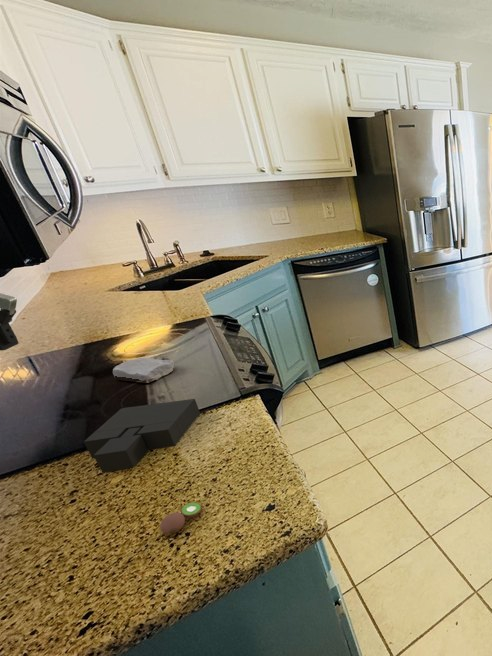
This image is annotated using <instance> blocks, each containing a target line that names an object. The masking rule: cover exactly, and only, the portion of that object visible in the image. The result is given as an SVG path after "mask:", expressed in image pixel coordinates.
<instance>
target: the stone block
mask: <svg viewBox="0 0 492 656" xmlns="http://www.w3.org/2000/svg"><path fill="white" fill-rule="evenodd" d="M173 366H174V367H175V363H174V361H173V360H172V359H164V360H163V359H157V358H153V357H139V358H135V359H129V360H127V361H124V362H122V363H120V364H118V365H116V366H114V367H113V369H112V374H113V376H114V377H115V376H117V377H126V378H132V379H139V380H148V379H150V378H152V377H153V376H154V375H157V374H159V373H161V372H163V371H165V370H167V369H170V368H172V367H173Z"/></svg>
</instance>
